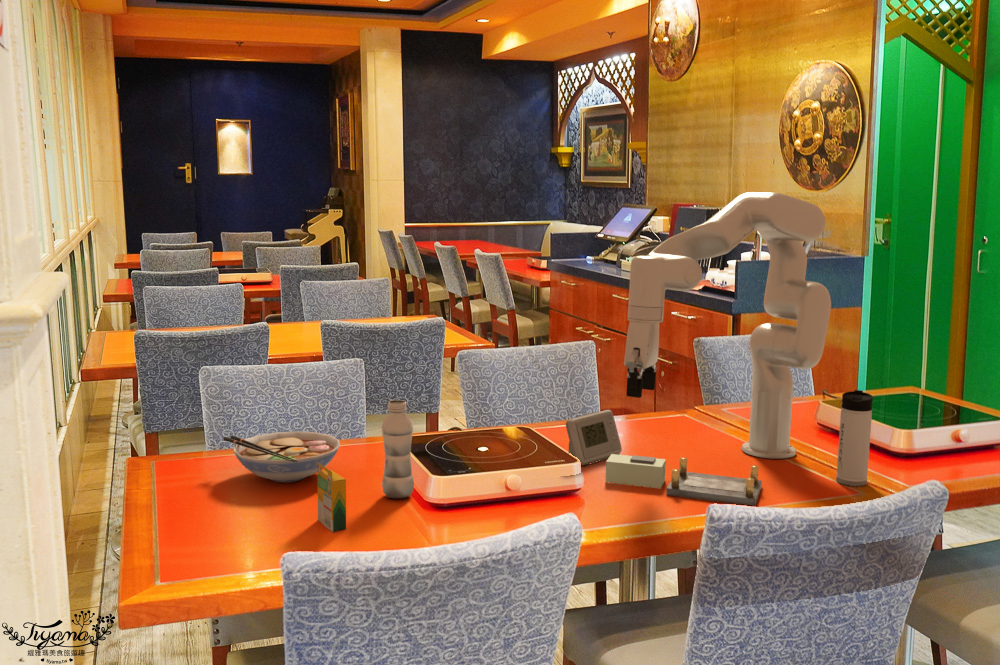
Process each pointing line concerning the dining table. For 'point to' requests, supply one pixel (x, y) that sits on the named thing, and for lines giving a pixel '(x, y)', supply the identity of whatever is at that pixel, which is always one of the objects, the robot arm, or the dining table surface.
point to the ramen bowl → (285, 454)
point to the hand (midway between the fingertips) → (640, 393)
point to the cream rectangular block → (635, 470)
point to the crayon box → (331, 499)
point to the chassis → (714, 486)
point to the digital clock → (593, 436)
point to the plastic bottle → (397, 451)
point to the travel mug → (854, 438)
